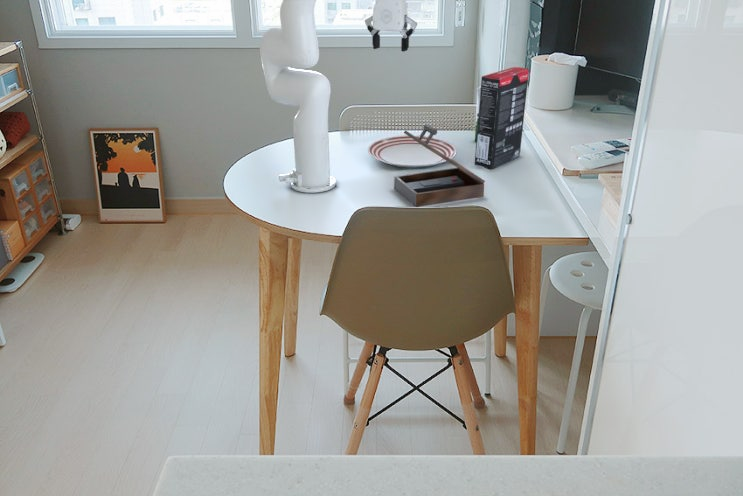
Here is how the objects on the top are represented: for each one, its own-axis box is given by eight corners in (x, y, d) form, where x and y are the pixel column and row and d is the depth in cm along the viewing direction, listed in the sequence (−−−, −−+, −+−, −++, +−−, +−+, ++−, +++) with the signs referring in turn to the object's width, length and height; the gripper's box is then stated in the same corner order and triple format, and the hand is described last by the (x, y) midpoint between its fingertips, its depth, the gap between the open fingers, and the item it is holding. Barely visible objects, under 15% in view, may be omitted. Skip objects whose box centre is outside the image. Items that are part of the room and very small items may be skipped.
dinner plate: (472, 166, 211) (473, 155, 210) (388, 178, 202) (388, 167, 201) (432, 141, 234) (432, 131, 233) (355, 151, 225) (354, 141, 224)
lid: (426, 148, 175) (438, 130, 174) (403, 132, 187) (414, 115, 186) (483, 183, 185) (494, 166, 184) (458, 166, 197) (468, 150, 197)
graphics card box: (502, 152, 222) (509, 65, 211) (522, 157, 218) (530, 68, 207) (473, 166, 211) (479, 74, 199) (494, 171, 207) (500, 78, 195)
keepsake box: (415, 210, 181) (416, 194, 179) (394, 191, 193) (394, 176, 191) (483, 199, 187) (484, 184, 185) (458, 181, 199) (458, 167, 198)
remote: (412, 199, 185) (413, 188, 184) (405, 193, 189) (405, 182, 188) (463, 192, 190) (464, 180, 188) (455, 186, 194) (456, 174, 193)
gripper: (359, -10, 211) (360, 49, 218) (411, -7, 203) (410, 53, 210) (371, -12, 217) (371, 45, 224) (422, -10, 209) (421, 49, 216)
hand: (390, 49), depth 217 cm, fingers open, 9 cm apart
